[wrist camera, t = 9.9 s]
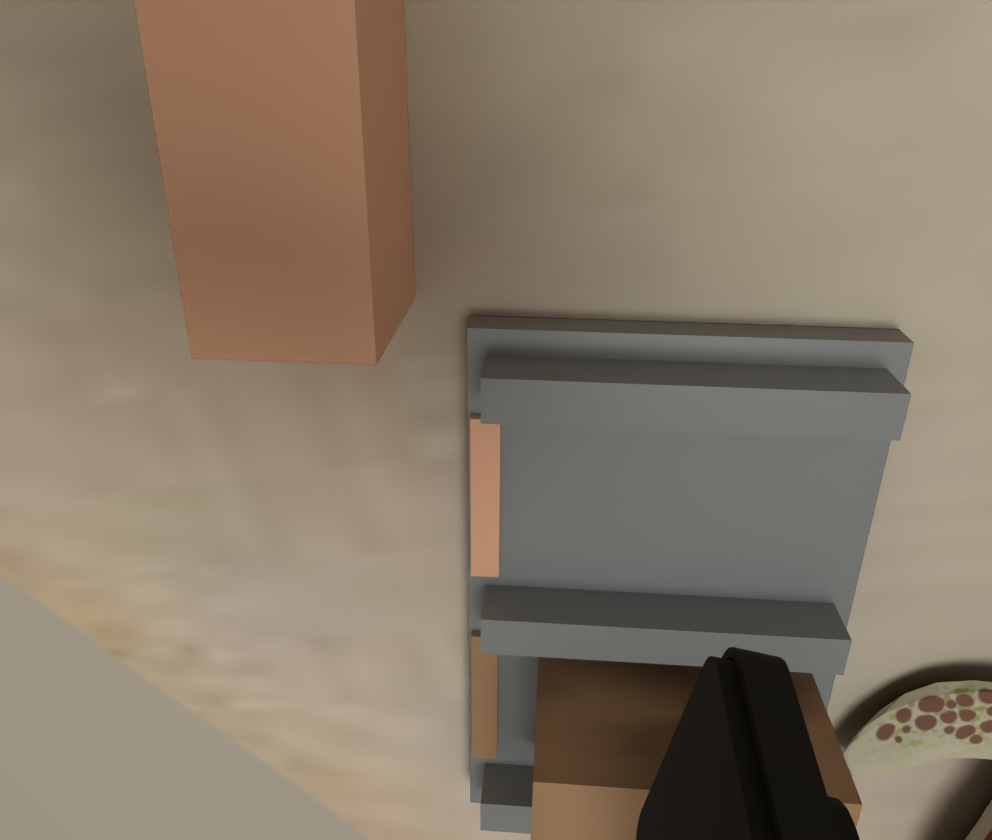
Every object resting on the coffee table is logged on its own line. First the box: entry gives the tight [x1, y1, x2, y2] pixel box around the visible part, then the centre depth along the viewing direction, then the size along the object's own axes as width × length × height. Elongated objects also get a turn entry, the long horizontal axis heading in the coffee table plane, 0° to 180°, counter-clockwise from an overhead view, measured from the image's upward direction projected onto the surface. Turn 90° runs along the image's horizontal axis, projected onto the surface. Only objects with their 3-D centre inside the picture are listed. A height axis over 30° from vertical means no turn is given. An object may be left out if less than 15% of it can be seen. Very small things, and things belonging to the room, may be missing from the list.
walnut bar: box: [531, 657, 862, 840], centre depth 23 cm, size 8×4×5 cm, turn 90°
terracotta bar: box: [134, 0, 415, 365], centre depth 18 cm, size 8×4×5 cm, turn 0°
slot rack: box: [467, 316, 914, 834], centre depth 24 cm, size 17×11×3 cm, turn 0°
